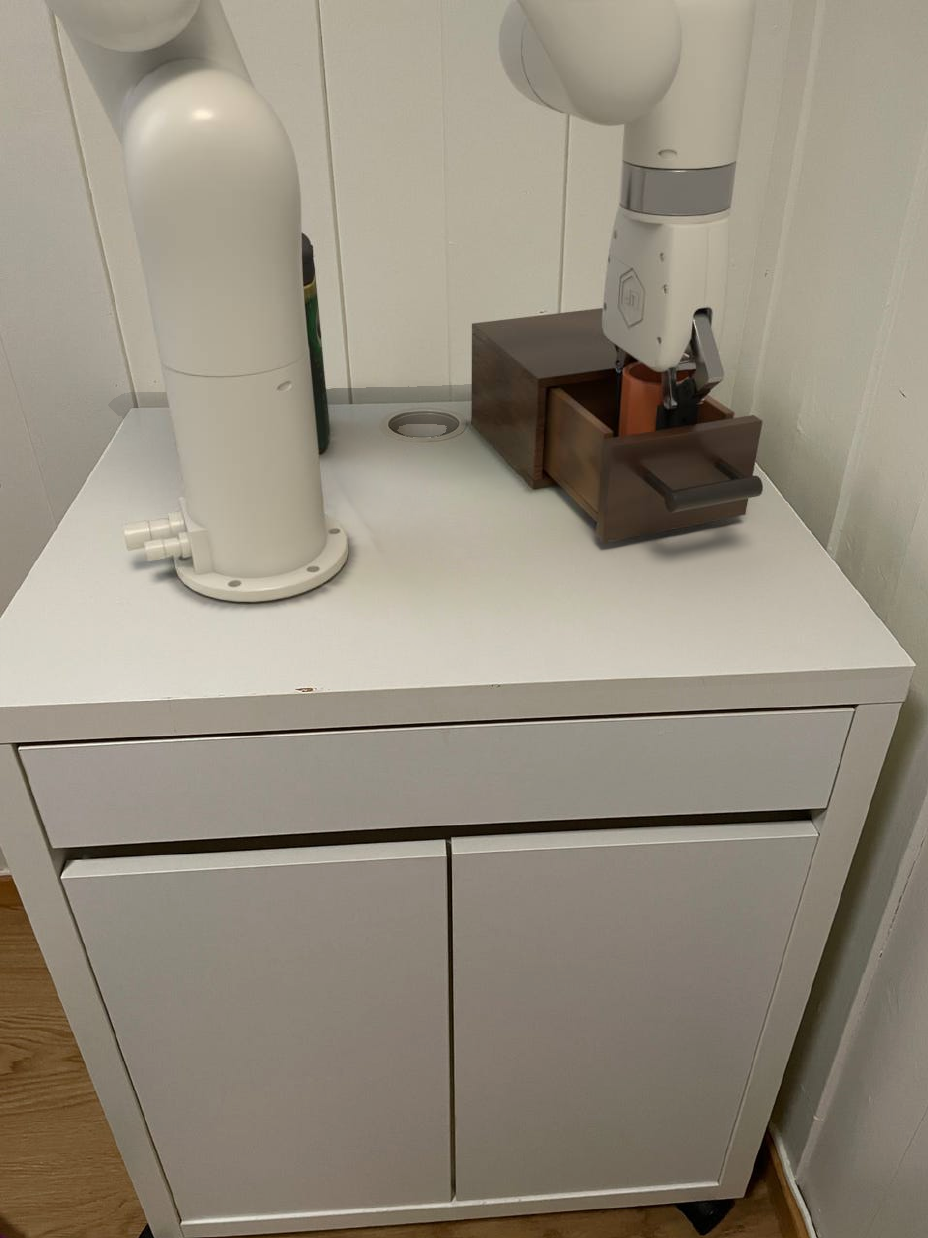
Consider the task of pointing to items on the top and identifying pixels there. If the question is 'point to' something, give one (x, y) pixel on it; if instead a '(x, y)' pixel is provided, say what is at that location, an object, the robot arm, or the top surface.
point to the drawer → (648, 463)
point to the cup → (641, 398)
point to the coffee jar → (315, 343)
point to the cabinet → (532, 379)
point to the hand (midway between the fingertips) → (652, 434)
